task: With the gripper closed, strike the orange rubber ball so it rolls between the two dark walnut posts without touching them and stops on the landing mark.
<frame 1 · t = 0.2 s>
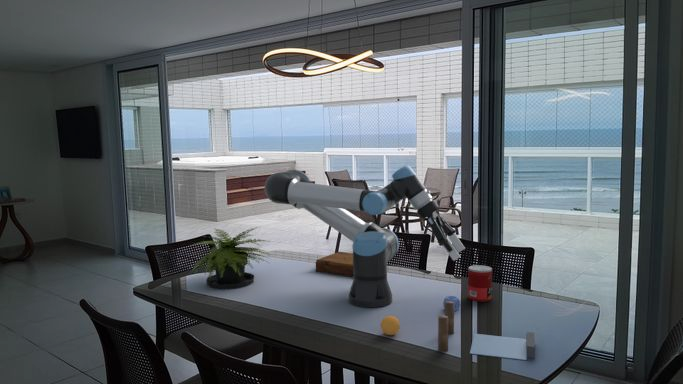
hand: (459, 254, 181), 15 cm above the table, tool tilted 35°, fingers open, 13 cm apart
brown wooden block: (350, 271, 222), on the table
post 2: (449, 332, 150), on the table
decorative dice: (451, 310, 170), on the table
landing mark: (498, 346, 139), on the table
canned food: (479, 299, 180), on the table
ball: (390, 325, 149), on the table
post 1: (443, 349, 138), on the table
stopper wall: (530, 350, 136), on the table
fern plant: (231, 282, 206), on the table
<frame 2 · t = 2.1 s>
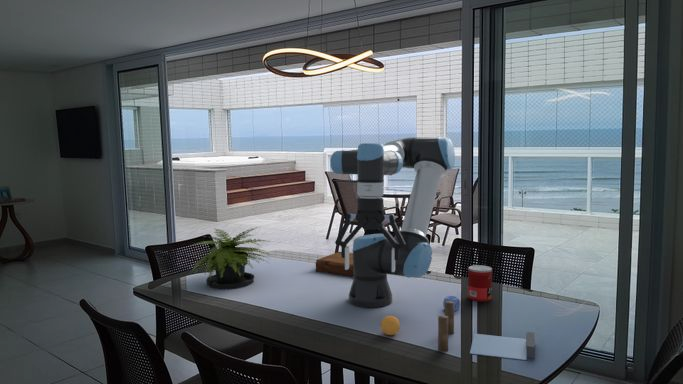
hand: (370, 270, 150), 18 cm above the table, tool pointing down, fingers open, 13 cm apart
nothing on the table moved.
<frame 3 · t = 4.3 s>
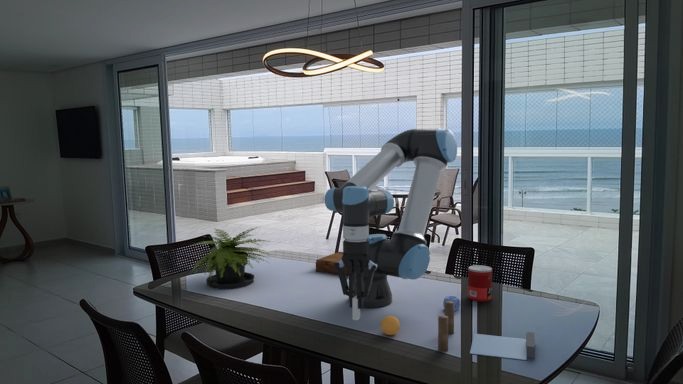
hand: (356, 318, 151), 4 cm above the table, tool pointing down, fingers closed
nothing on the table moved.
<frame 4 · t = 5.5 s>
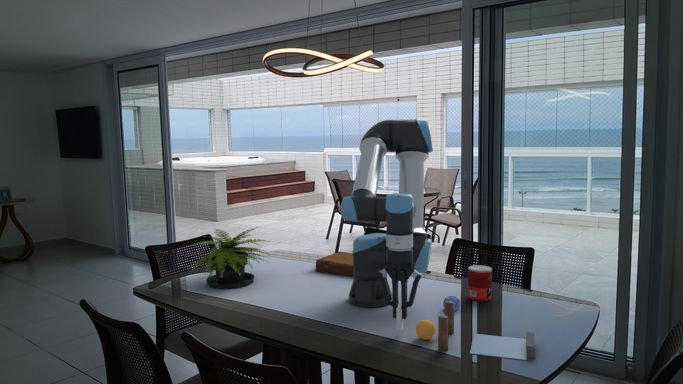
hand: (400, 329, 148), 2 cm above the table, tool pointing down, fingers closed
ball: (425, 329, 145), on the table
everything else where it was.
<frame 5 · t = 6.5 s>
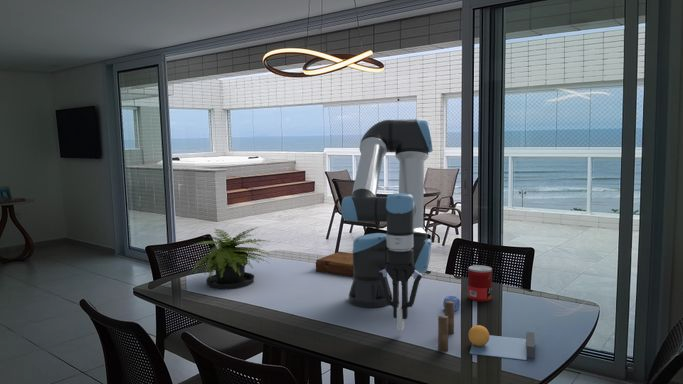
hand: (400, 329, 148), 2 cm above the table, tool pointing down, fingers closed
ball: (478, 335, 140), on the table
everything else where it was.
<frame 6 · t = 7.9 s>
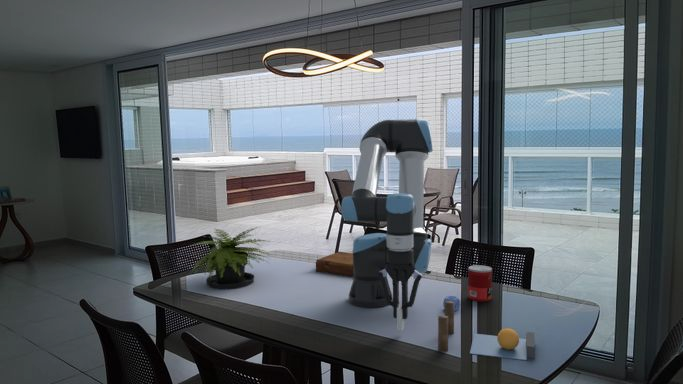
hand: (400, 329, 148), 2 cm above the table, tool pointing down, fingers closed
ball: (508, 339, 137), on the table
everything else where it was.
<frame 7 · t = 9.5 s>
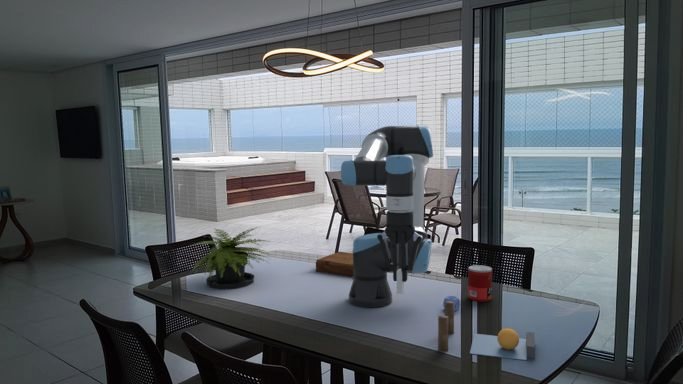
hand: (400, 292, 147), 13 cm above the table, tool pointing down, fingers closed
nothing on the table moved.
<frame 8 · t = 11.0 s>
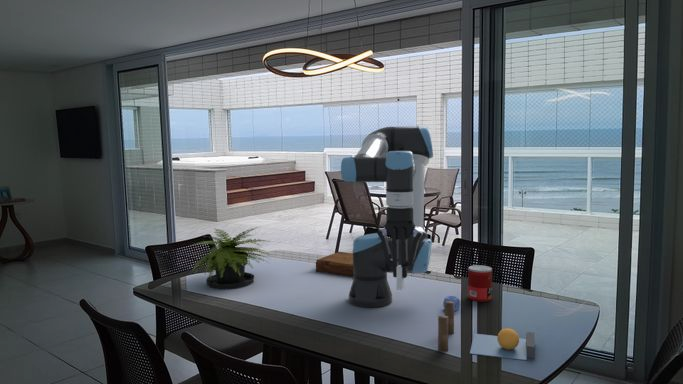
hand: (400, 288, 146), 14 cm above the table, tool pointing down, fingers closed
nothing on the table moved.
at the end: ball 2.5 cm from the landing mark (horizontally); ball never touched post 2; ball never touched post 1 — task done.
